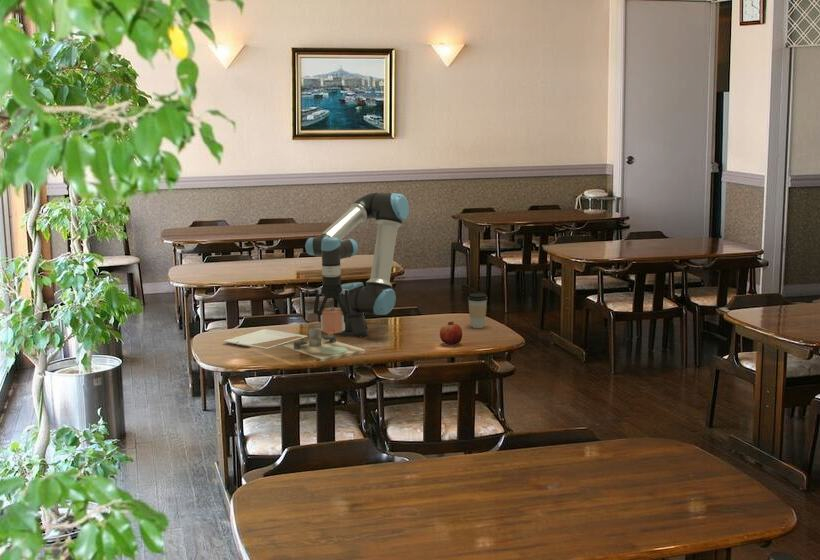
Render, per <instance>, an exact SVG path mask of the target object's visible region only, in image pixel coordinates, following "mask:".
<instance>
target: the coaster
mask: <svg viewBox="0 0 820 560" xmlns="http://www.w3.org/2000/svg"><path fill="white" fill-rule="evenodd" d="M346 352H347V348H344V347H326V348H323V349H321V353H323V354H329V355H335V354H343V353H346Z"/></svg>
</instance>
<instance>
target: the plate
mask: <svg viewBox="0 0 820 560" xmlns="http://www.w3.org/2000/svg"><path fill="white" fill-rule="evenodd" d="M293 337H298V338H294V339H290V340H288V341H285V342H281V343H278V344H275V345H271V346H268V347H265V346H260V345H255V344H261V343H266V342H271V341H272V342H273V341H277V340H282V339H287V338H293ZM305 338H309V335H305V334H301V333H300V334H299V333H292V332H286V331H280V330H275V329H274V330H273V329H267V328H263V329H260V330H257V331H254V332H253V331H252V332H250V333H246V334H243V335H240V336H239V335H238V336H236V337H231V338H229V339H225V340H223V343H227V344H231V345H234V344H236V346H240V345H241V346H242V347H246V346H247V348H250V347H251V348H252V347H253V348H258V349H264V350H269V349H272V348H276V347H279V346H283V345H287V344H290V343H292V342H297V341H300V340H303V339H305ZM238 341H239V342H238ZM236 342H238V343H236ZM241 346H240V347H241Z"/></svg>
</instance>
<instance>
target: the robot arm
mask: <svg viewBox="0 0 820 560" xmlns="http://www.w3.org/2000/svg"><path fill="white" fill-rule="evenodd" d="M409 214H410V204H409V201H408V200H407V197H406V196H405V195H404V194H401V193H396V192H392V193H391V192H370V193H367V194H365V195H364V196H361V197H359V198H358V199H356V200H355V201H354V202H352V203H351V204H350V205H349V206H348V209H347V210H346V211H345V212H344V214H342V215H341V216H340V217H339V218H338V219H336V220H335V221H334V222H333V223H332V224H330V226H328V227H327V228H326V229H325V230H323V231H322V233H321V234H319V235H318V236H317V237H313V236H312V237H309V238H308V239H306V242H305V245H304V247H305V251H306V254H308V255H310V256H315V257H321V274H322V277H321V278H322V279H321V280H322V287H321V288H316V289H315V290H314V293H315V300H314V306H313V313H314V314H316V315H317V319H318V323H320V329H321V332H323V324H322V310H323V309H325V305H326V303H327V302H328V299H335V300H336V301H337V308H341V310H342V312H343V314H342V332H340V333H334V334H335V335H338V336H344V337H345V336H348V337H349V336H350V337H351V336H352V337H355V338H363V337H366V336H368V335H369V327H368V325H367V322H366V318H365V314H369V315H370V314H371V315H376V316H381V315H382V316H384V315H385V316H386V315H388V314H390V313H391V311H392V310H393V309H394V307H395V305H396V299H397V296H396V291H394V289H393V285H392V283H391V282H390V280H391V276H392V275H391V274H392V269H393V268H392V267H393V262H394V255H395V254H394V253H395V248H396V242H397V234H398V229H399V228H400V227H402V224H403V221H406V220H407V219H408V218H409ZM370 219H371V220H373V219H374V220H375V223H376V224H377V227H378V228H377V231H376V232H377V233H376V240H375V246H374V251H373V259H372V265H371V272H370V278H369V279H368V280H367V281H365V285H364V283H363V282H361V281H358V282H355V281H354V282H348V283H343V284H342V277H341V276H342V275H341V274H342V272H341V271H342V269H341V268H342V267H341V260H343V259H346V258H347V259H348V258H351V257H353V256H355V255H357V253H358V251H359V246H358V242H357V241H356V240H355V239H353V238H345V237H346V236H347V235H348V234H349V233H351V231H352V230H353V229H355V228H356V227H357V226H358V225H359V224H362V223H365V222H366V221H367V220H370ZM343 238H345V239H343ZM322 293H323V295H324V297H323V299H322V301H321V302H322V303H321V304H320V306H319V303H320V296H321V294H322Z"/></svg>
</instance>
